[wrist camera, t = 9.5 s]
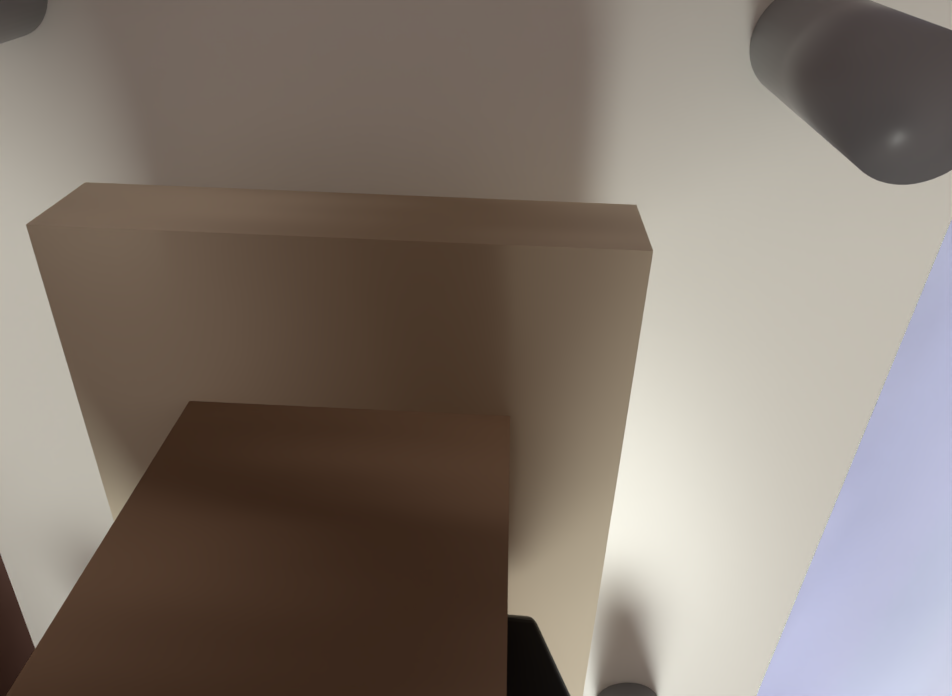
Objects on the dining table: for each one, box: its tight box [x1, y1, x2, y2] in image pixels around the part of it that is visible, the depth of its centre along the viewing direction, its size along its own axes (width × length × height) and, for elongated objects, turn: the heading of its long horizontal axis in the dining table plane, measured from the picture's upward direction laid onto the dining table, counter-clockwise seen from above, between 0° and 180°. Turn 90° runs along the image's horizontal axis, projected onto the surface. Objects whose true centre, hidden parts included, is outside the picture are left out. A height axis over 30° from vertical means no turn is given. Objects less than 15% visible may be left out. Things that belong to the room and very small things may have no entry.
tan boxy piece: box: [6, 182, 653, 696], centre depth 9 cm, size 6×9×5 cm, turn 179°
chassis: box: [0, 0, 952, 696], centre depth 11 cm, size 14×16×4 cm
